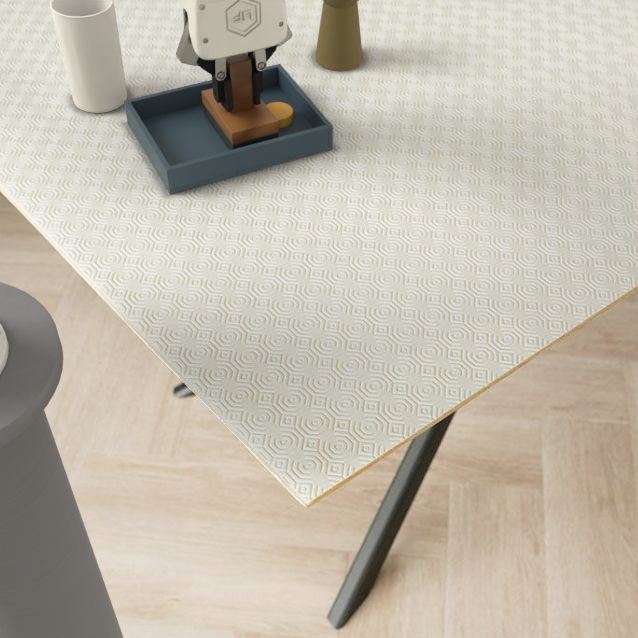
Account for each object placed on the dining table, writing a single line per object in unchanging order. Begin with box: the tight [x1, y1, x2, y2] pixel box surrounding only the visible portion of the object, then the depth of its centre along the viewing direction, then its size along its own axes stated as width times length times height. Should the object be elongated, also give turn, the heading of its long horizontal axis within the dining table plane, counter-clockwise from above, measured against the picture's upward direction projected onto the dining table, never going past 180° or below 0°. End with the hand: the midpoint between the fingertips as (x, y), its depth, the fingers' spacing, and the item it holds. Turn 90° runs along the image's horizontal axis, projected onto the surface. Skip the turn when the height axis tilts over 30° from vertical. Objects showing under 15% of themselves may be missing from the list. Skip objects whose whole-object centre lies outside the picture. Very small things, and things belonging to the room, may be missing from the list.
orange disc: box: [266, 102, 293, 128], centre depth 104 cm, size 4×4×1 cm
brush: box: [201, 53, 279, 150], centre depth 100 cm, size 6×9×9 cm, turn 27°
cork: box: [314, 0, 364, 72], centre depth 111 cm, size 6×6×11 cm
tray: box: [123, 63, 334, 195], centre depth 102 cm, size 19×14×3 cm
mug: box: [49, 0, 128, 114], centre depth 104 cm, size 10×7×12 cm, turn 32°
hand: (238, 100), depth 101 cm, fingers closed on brush, 2 cm apart
